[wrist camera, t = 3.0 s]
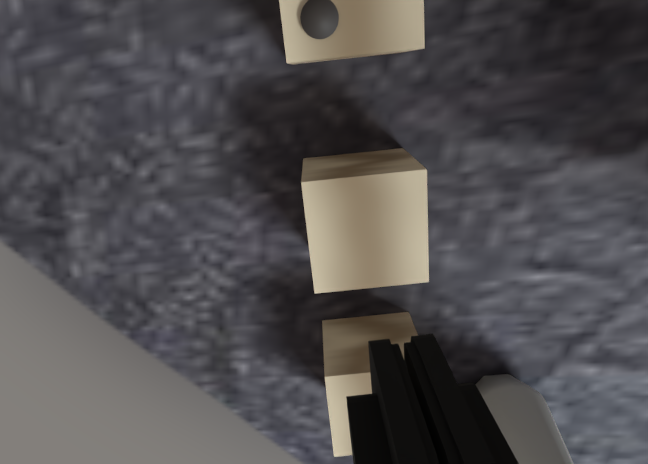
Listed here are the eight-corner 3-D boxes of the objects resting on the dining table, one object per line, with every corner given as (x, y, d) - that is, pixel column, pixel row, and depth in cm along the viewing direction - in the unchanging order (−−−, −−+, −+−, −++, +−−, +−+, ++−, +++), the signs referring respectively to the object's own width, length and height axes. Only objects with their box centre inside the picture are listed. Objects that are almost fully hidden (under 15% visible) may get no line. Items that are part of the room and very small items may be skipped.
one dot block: (408, 311, 30) (431, 368, 25) (410, 381, 33) (432, 449, 27) (322, 319, 31) (324, 379, 25) (330, 389, 33) (334, 459, 27)
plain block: (402, 147, 27) (426, 169, 21) (405, 240, 29) (429, 282, 23) (303, 158, 27) (301, 182, 21) (313, 249, 29) (314, 293, 23)
